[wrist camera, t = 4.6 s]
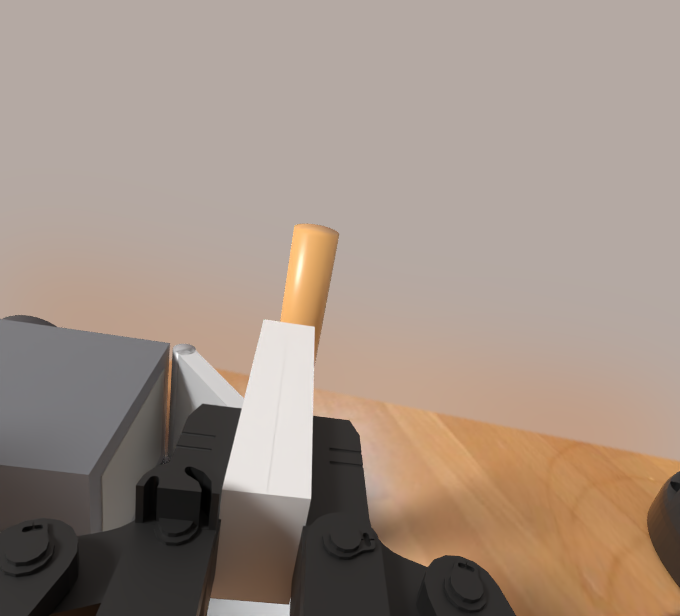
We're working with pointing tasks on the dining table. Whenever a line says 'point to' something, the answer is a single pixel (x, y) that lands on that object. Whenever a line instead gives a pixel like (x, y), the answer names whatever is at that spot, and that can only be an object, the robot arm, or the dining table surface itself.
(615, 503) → the dining table surface
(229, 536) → the robot arm
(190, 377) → the side door
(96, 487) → the box
